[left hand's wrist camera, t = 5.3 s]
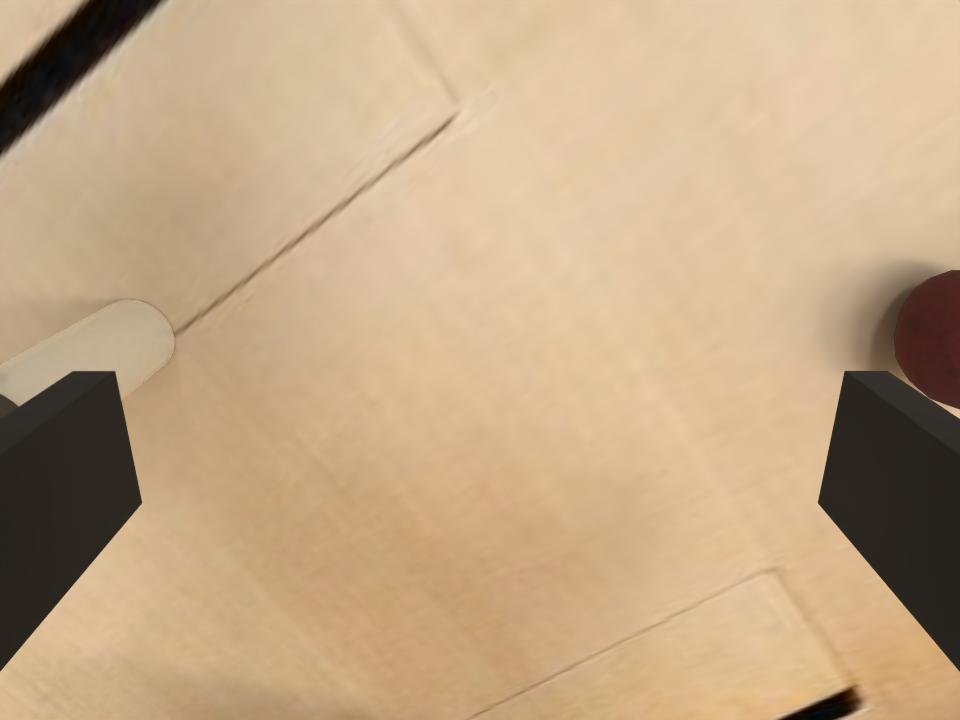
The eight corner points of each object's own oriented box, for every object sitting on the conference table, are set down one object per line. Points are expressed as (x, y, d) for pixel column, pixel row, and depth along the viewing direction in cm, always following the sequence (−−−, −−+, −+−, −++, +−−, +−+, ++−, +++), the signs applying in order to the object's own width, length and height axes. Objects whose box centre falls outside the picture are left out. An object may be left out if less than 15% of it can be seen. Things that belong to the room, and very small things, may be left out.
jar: (191, 337, 41) (39, 460, 27) (144, 386, 43) (-24, 530, 28) (126, 282, 40) (-68, 382, 26) (81, 335, 41) (-129, 458, 27)
